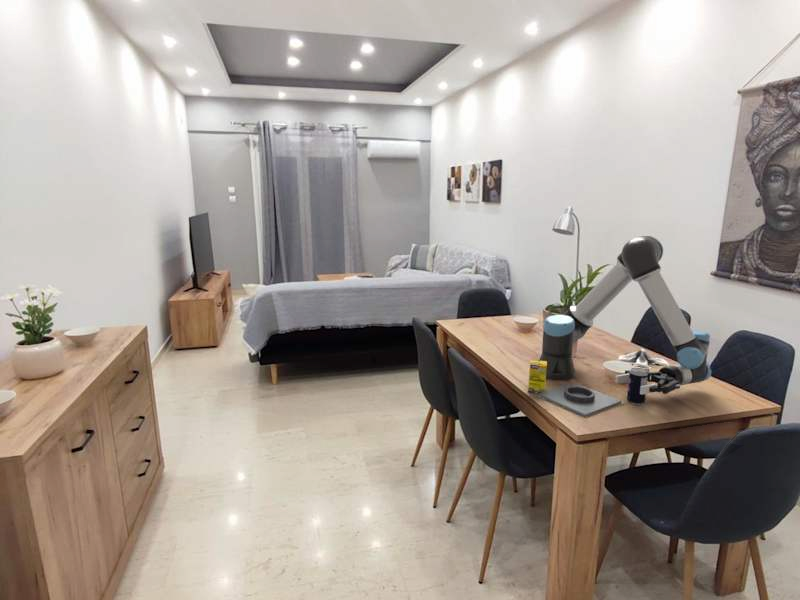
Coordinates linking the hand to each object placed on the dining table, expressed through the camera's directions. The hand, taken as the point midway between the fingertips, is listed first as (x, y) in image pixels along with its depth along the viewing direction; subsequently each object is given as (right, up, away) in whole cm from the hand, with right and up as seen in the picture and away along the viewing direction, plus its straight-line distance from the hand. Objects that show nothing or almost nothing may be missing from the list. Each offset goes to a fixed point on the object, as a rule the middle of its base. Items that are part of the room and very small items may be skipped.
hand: (628, 384), depth 162 cm
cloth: (+28, +2, +47) cm, 55 cm away
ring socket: (-15, -6, +5) cm, 17 cm away
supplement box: (-28, -5, +14) cm, 31 cm away
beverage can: (+4, -7, +3) cm, 9 cm away
